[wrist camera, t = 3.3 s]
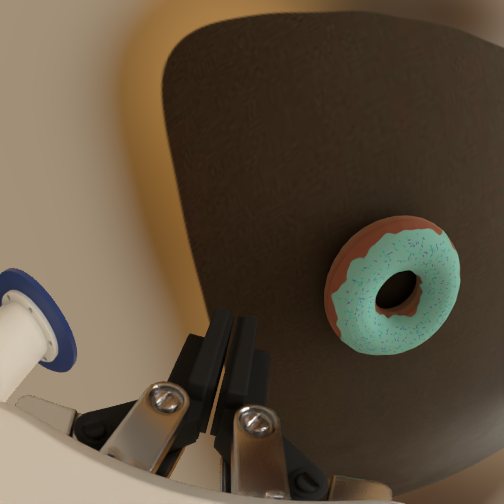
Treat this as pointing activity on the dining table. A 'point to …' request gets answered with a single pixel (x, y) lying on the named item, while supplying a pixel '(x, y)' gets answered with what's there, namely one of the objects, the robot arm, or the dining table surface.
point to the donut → (375, 275)
